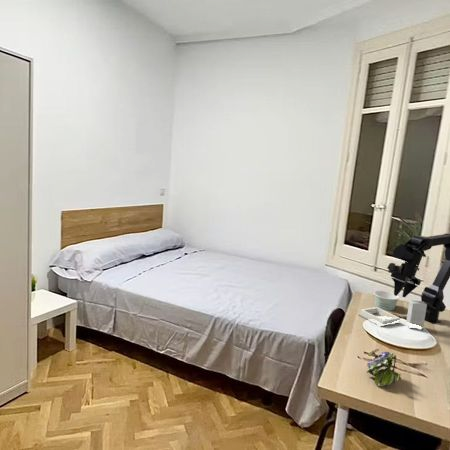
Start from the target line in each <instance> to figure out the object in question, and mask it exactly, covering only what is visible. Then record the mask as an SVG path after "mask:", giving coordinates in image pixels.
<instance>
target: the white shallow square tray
mask: <svg viewBox="0 0 450 450" xmlns="http://www.w3.org/2000/svg"><path fill="white" fill-rule="evenodd" d="M381 315H382V316H387V317H392V318H391V319H385V320H382V319H380V318H378V317H376V316H381ZM358 317H361V318H363V319H364V320H365V321H368V319H375V320H377V321H379V322H380V323H382V324H387V323H392V322H394V321H397V320H401V318H400V317H399V316H396V315H394V314H392V313H390V312H388V311H387V310H383V309H380V308H378V307H376V306H375V307H374V306H373V307H368V308H363V309H362V308H361V309H360V311H359V314H358Z"/></svg>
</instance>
